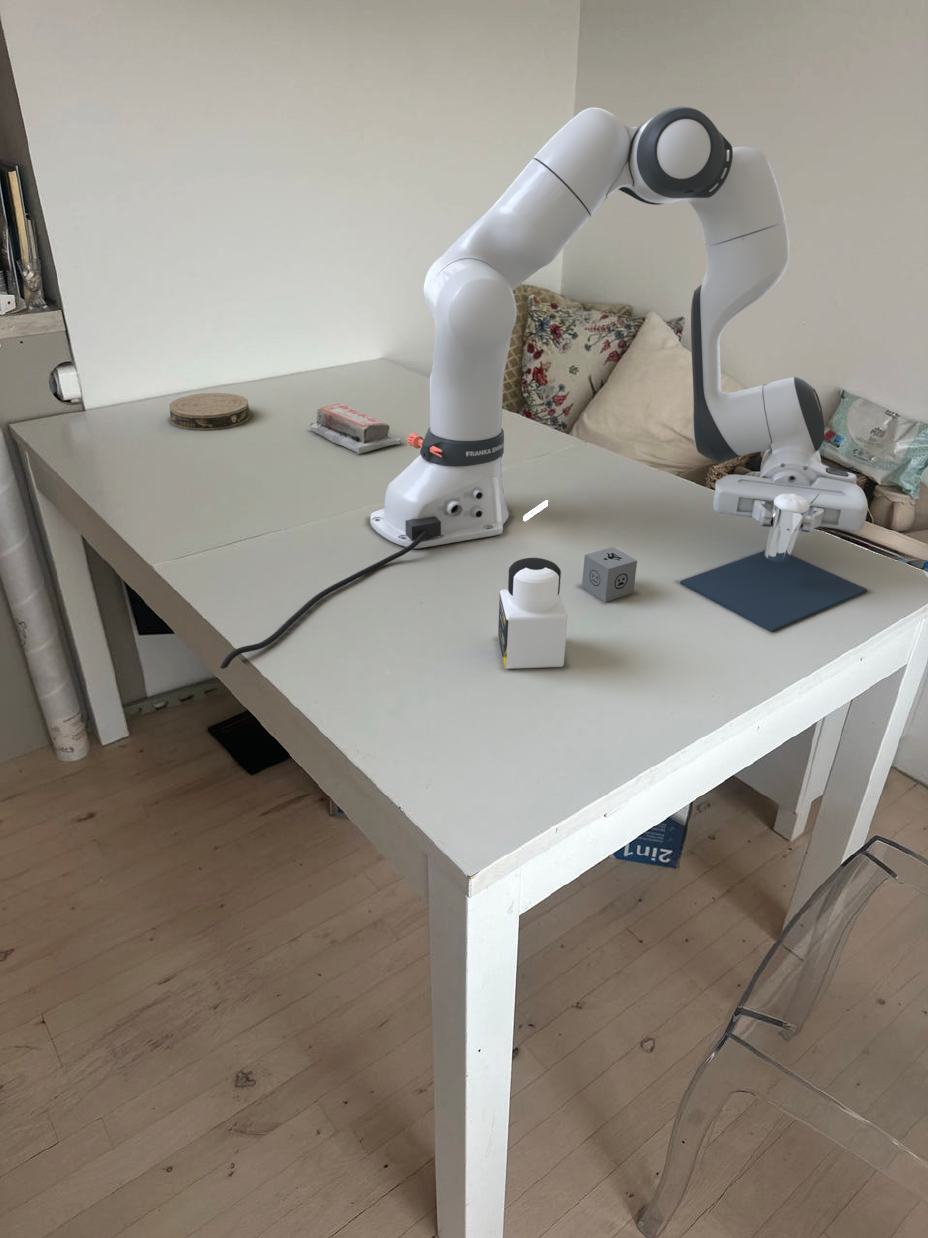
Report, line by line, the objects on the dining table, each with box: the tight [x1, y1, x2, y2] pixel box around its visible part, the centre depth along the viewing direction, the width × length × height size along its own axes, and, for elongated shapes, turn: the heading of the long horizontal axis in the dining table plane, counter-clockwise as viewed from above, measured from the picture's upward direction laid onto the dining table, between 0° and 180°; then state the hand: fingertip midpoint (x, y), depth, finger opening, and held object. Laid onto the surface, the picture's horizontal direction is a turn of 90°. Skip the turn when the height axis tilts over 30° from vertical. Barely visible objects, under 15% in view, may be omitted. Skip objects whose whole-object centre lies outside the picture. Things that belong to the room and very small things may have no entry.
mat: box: [679, 550, 868, 633], centre depth 127 cm, size 20×16×1 cm
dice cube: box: [581, 546, 638, 603], centre depth 124 cm, size 5×5×5 cm
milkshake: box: [764, 493, 820, 563], centre depth 122 cm, size 4×5×10 cm
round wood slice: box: [168, 392, 251, 431], centre depth 188 cm, size 16×16×3 cm
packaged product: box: [309, 403, 402, 455], centre depth 178 cm, size 18×5×10 cm
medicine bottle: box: [497, 557, 569, 670], centre depth 108 cm, size 7×7×12 cm
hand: (787, 524), depth 121 cm, fingers closed on milkshake, 4 cm apart
